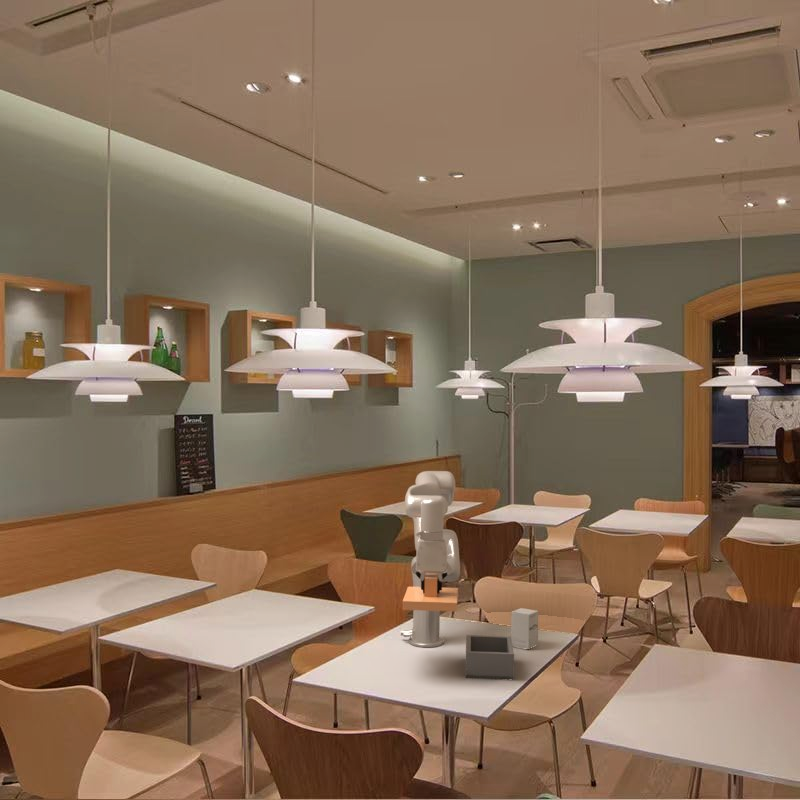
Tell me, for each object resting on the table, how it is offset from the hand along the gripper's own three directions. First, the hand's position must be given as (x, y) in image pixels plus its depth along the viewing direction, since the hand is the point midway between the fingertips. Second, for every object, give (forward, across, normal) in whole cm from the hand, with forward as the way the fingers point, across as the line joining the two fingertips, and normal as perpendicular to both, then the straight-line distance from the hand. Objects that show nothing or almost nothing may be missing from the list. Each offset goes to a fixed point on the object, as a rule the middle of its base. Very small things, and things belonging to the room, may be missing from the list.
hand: (431, 591), depth 270 cm
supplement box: (+24, +32, +28) cm, 49 cm away
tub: (+24, +19, 0) cm, 31 cm away
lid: (+3, 0, 0) cm, 3 cm away
